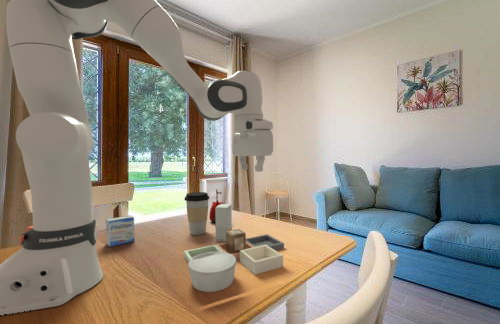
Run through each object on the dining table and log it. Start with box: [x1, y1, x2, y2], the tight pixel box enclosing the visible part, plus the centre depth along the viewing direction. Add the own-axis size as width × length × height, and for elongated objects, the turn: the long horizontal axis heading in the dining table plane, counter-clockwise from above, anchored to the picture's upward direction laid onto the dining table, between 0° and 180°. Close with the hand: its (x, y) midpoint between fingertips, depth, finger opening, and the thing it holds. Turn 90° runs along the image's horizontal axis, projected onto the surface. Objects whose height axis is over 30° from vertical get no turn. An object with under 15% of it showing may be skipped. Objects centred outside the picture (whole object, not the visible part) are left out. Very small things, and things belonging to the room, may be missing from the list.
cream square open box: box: [239, 245, 284, 276], centre depth 64 cm, size 8×8×4 cm
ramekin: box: [187, 252, 237, 293], centre depth 56 cm, size 11×11×5 cm
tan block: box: [225, 228, 247, 254], centre depth 72 cm, size 4×5×6 cm
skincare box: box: [215, 203, 233, 242], centre depth 84 cm, size 6×4×12 cm
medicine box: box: [105, 215, 135, 248], centre depth 82 cm, size 8×4×9 cm, turn 131°
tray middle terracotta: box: [215, 242, 254, 261], centre depth 72 cm, size 10×10×2 cm
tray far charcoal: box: [246, 234, 285, 251], centre depth 77 cm, size 10×10×2 cm
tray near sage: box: [183, 244, 223, 263], centre depth 68 cm, size 10×10×2 cm
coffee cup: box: [183, 191, 210, 236], centre depth 92 cm, size 9×9×15 cm
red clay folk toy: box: [208, 188, 225, 224], centre depth 106 cm, size 8×7×15 cm
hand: (251, 170), depth 75 cm, fingers open, 8 cm apart
